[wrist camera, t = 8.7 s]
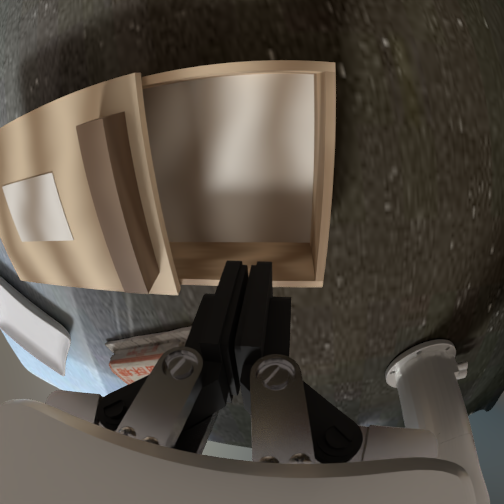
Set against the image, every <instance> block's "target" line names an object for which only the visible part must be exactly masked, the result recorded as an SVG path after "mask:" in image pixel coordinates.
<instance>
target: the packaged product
mask: <svg viewBox="0 0 504 504" xmlns="http://www.w3.org/2000/svg"><path fill="white" fill-rule="evenodd" d="M191 327H192V326H190V327H185V328H180V329H176V330H173V331H169V332H161V333H155V334H149V335H142V336H135V337H131V338H128V339H122V340H116V341H110V342H107V343H105V345H106V346H107V347H108V348H109V349H110V350H111V351H112V352H113V353H115V354H114V355H112V357H111V358H110V359H111V360H110V363H109V366H110V368H111V370H112V372H113V373H115V374H116V375H117V376H118V377H119V378H120V379H122V380H123V381H124V382H125V383H127V384H128V385H129V384H131V383H133V382H135V381H137V380H139V379H141V378H143V377H145V376H147V375H149V374H150V373H151V371H152V370H153V368H154V366H155V365H156V363H157V361H158V360H159V358H160V357H161V356H162V355H163V353H165V352H166V351H168V350H169V349H172V348H175V347H181V346H185V343H186V340H187V338H188V335H189V332H190V330H191Z"/></svg>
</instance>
